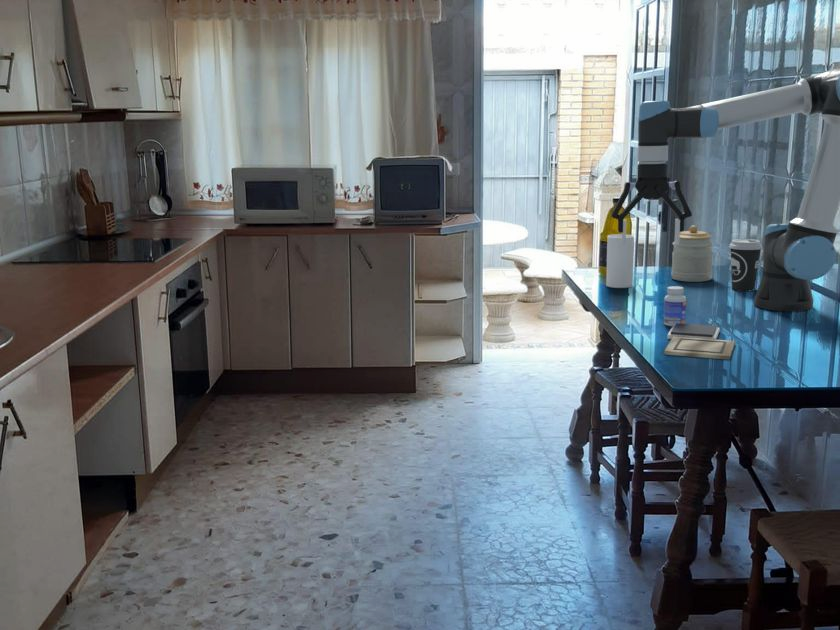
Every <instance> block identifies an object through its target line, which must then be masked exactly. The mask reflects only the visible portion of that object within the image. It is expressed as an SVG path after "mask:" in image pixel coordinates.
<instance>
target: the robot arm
mask: <svg viewBox="0 0 840 630" xmlns="http://www.w3.org/2000/svg"><path fill="white" fill-rule="evenodd" d="M670 103H671V102H669V100H652V101H651V100H648V101H647V100H646V101H642V102H641V103H640V105H639V113H638V119H637V122H638V126H637V127H638V128H637V129H638V134H637V135H638V137H637V142H638V144H637V161H638V162H639V163H638V164H637V169H636V170H637V171H636V172H637V174H636V178H637V179H636V182H629V181H625V182H624V185H623V190H622V193H621V195H620V196H619V198H618V201H617V202H616V204H615V205H614V208H613V210H612V212H611V213H610V215H611V217H612V219H616V220H617V231H618V234H620V233H621V234H622V245H623V246H626V234H627V220H626V219H625V218H626V217H627V216H628V215H629V214H630V212H632V210H633V209H634V208H635V207H636V206H637V204H638V203H640V202H641V200H642V199H645V200H651V199H654V200H659V199H660V198H661V199H662V200H663V201H664V202H665V203H666V205H668V207H669V209H671V210H672V211H673V213H674V214H675V215H676V216H677V217H678V218H675V219H674V220H675V221H674V241H675V242H674V241H673V242H674V244H676V245H679V236H680V232H683V231H685V219H687V218H690V217H692V211H691V209H690V207H689V205H688V203H687V201H686V199H685V196H684V194H683V193H682V190H681V181H679V180H674V181H668V169H669V168H668V165H669V164H668V163H667V162H668V161H669V140H670V139H699V138H700V139H705V138H714V137H715V136H716V135H717V134H718V131H719V130H723V129H729V128H732V127H739V126H743V125H747V124H752V123H757V122H761V121H766V120H772V119H777V118H782V117H786V116H790V115H791V116H792V115H795V114H796V115H797V114H802V115H804V116H810V115H814V114H821V115H820V116H821V118H822V120H823V121H824V128H823V130H822V134H821V138H820V142H819V144H818V147H817V150H816V155H815V157H814V161H813V164H812V168H811V171H810V174H809V177H808V181H807V185H806V188H805V190H804V194H803V197H802V200H801V204H800V207H799V211H798V213H797V216H796V217H794V218H793V219H792V220H790V221H789V222H788V223H773V224H772V223H771V224H769V225H767V226H766V227H765V233H764V236H763V238H764V246H763V261H762V262H763V263H762V264H763V265H762V278H761V280H760V283H759V285H758V288H757V290H756V292H755V296H754V301H753V302H754V306H755V307H757V308H759V309H760V308H761V309H763V310H769V311H776V312H777V311H778V312H803V311H804V312H805V311H810V310H812V309H813V308H814V296H813V294H812V293H813V292H812V290H811V286H810V282H809V281H813V280H816V279H820V278H822V277H824V276H825V275H827V274H828V273H829V272H830V271H831V270H832V269H833V267H834V265H835V263H836V260H837V251H836V247H835V246H834V244H835V240H836V238H837V235H838V231H837V229H836V227H835V225H834V221H835V218H836V214H837V212H838V209H839V206H840V66H839V67H838V66H837V67H835V68H831V69H830V70H826V71H824V72H822V73H818V74H815V75H812V76H808V77H803V78H800V79H799V80H798V82H797V83H794V84H790V85H784V86H781V87H775V88H772V89H771V88H770V89H765V90H762V91H757V92H752V93H747V94H743V95H739V96H733V97H728V98H725V99H724V98H723V99H721V100H715V101H711V102H705V103H702V104H698V105H697V104H696V105H692V106H688V107H687V106H686V107H680V108H673V107H671V106H670ZM669 187H670V188H671V190H673V191H674V193H675V195H676V198H677V200H678V202H679V203H680V204H679V205H680V206H681V207H682V210H683V212H682V211H681V210H680V209H679V208H678V206H676V205H677V204H675V203H674V202H673V201H672V199H671V198H670V197H669V196H668V194H667V193H666V191H667V190H668V188H669ZM634 188H635V190H636V191H637V193H636V195H634V197H633V198H632V200H631V201H630V202H629V203H628V204H627V205H626V207H624V209H623V210H622V211H621V209H622V207H623V205H624V203H625V201H626V199H627V198H628V196H629V193H630V192H632V190H633V189H634ZM620 211H621V212H620Z"/></svg>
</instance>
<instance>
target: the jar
mask: <svg viewBox="0 0 840 630" xmlns="http://www.w3.org/2000/svg"><path fill="white" fill-rule="evenodd" d="M712 237H713V236H712V235H711V234H709V233H708V232H706V231H702V230H701V231H699V228H698V226H697V225H691V226H690V227H689V230H683V232H680V236H679V245H676V244H674V242H675V240H674V241H673V242H672V243H671V244H672V245H673V251H672V252H671V253H672V256H671V257H672V260H671V262H672V264H671V279H673V280H675V281H680V282H689V283H693V282H695V283H699V282H708V281H711V280H712V277H713V273H714V272H713V258H714V257H713V256H714V252H713V246H714V245H715V242H713V241H712V240H711V238H712Z"/></svg>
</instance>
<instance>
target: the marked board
mask: <svg viewBox="0 0 840 630" xmlns="http://www.w3.org/2000/svg"><path fill="white" fill-rule="evenodd" d="M735 345H736V340H729V339H728V340H726V339H725V340H724V339H716V340H715V339H701V338H687V337H673V338H672V339H670V342H668V344H667V346H666V347H665V349H664V352H663V354H664V355H665V356H667V355H668V356H669V355H670V356H678V357H690V358H691V357H693V358H703V359H704V358H705V359H717V360H730V359H731V358H732V354H733V351H734V348H735Z"/></svg>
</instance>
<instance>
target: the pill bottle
mask: <svg viewBox="0 0 840 630" xmlns="http://www.w3.org/2000/svg"><path fill="white" fill-rule="evenodd" d="M666 288H667V290H666V291H667V294H666V295H665V297H663V299H664V307H663V312H664V313H663V324H664V325H665V326H668V327H673V325H676V323H681V324H686V321H687V319H686V317H687V314H686V313H687V297H686V296H685V295H684V291H685V290H684V287H683V286H679V285H678V286H677V285H675V286H673V285H671V286H667V287H666Z"/></svg>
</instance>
